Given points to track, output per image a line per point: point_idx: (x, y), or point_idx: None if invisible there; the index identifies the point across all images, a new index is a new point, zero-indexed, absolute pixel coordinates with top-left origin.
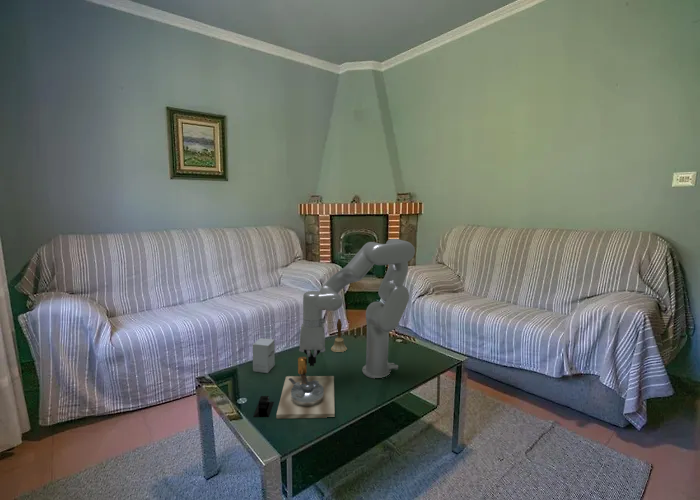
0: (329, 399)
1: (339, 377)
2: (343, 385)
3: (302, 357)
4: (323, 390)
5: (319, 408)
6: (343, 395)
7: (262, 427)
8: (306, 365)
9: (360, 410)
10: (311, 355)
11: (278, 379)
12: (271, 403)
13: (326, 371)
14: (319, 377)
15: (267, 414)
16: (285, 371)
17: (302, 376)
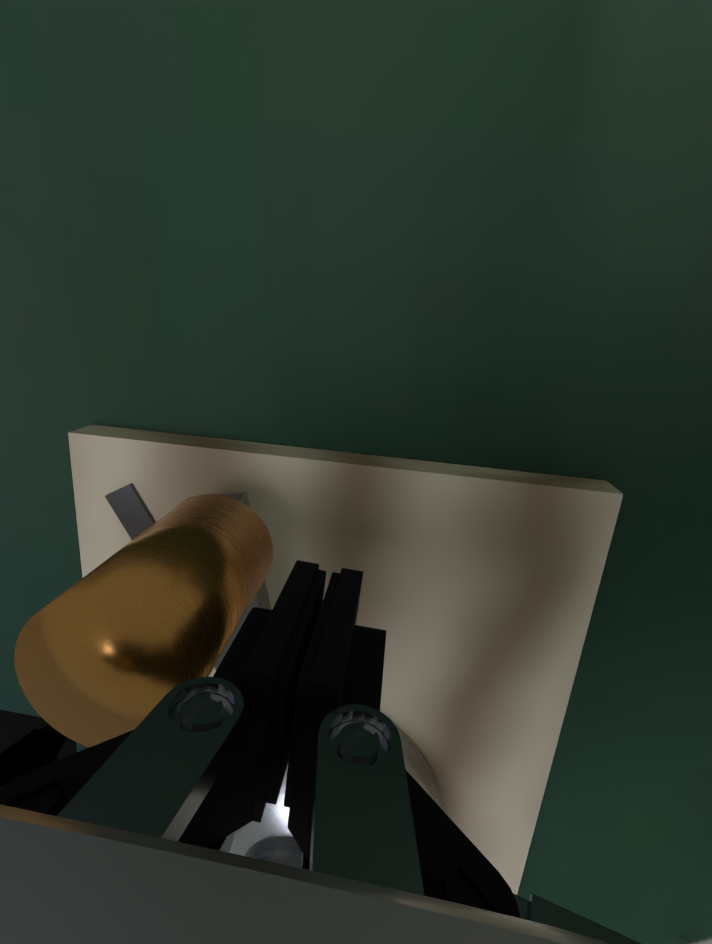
0: (486, 849)
1: (688, 445)
2: (679, 608)
3: (94, 642)
4: None
5: None
6: (625, 752)
7: None
8: (234, 629)
9: (697, 925)
10: (265, 758)
11: (19, 407)
12: (61, 747)
13: (557, 272)
14: (441, 503)
15: None
16: (47, 225)
17: (226, 652)
